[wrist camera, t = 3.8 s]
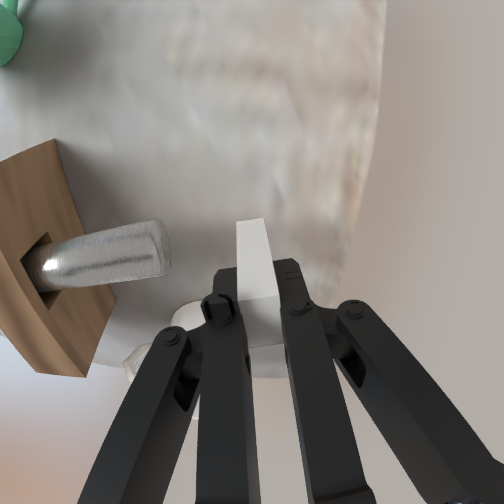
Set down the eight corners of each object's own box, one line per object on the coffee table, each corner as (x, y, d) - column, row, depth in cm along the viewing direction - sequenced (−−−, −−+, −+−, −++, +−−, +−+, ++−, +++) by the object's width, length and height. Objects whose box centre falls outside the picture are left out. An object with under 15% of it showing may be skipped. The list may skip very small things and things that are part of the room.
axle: (5, 284, 20) (-12, 306, 17) (-11, 254, 18) (-30, 275, 15) (173, 255, 19) (164, 287, 16) (159, 209, 18) (144, 235, 14)
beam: (70, 304, 28) (36, 372, 19) (8, 163, 18) (-62, 206, 9) (116, 300, 28) (86, 377, 19) (54, 138, 18) (-27, 176, 9)
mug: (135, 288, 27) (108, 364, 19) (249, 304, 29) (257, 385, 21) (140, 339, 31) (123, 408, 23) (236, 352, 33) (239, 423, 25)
